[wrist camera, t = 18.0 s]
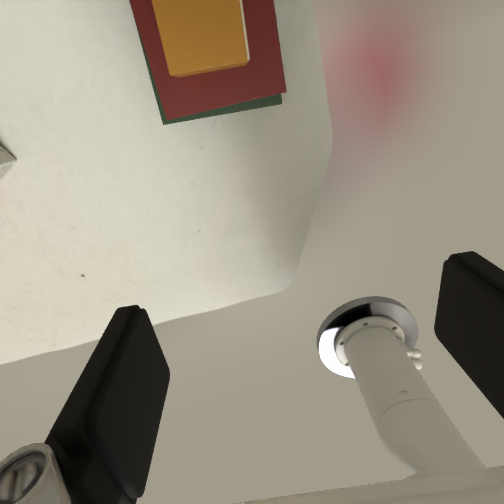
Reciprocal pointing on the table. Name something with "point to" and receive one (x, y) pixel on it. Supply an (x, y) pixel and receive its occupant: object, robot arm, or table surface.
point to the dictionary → (202, 35)
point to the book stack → (221, 81)
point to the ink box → (5, 161)
